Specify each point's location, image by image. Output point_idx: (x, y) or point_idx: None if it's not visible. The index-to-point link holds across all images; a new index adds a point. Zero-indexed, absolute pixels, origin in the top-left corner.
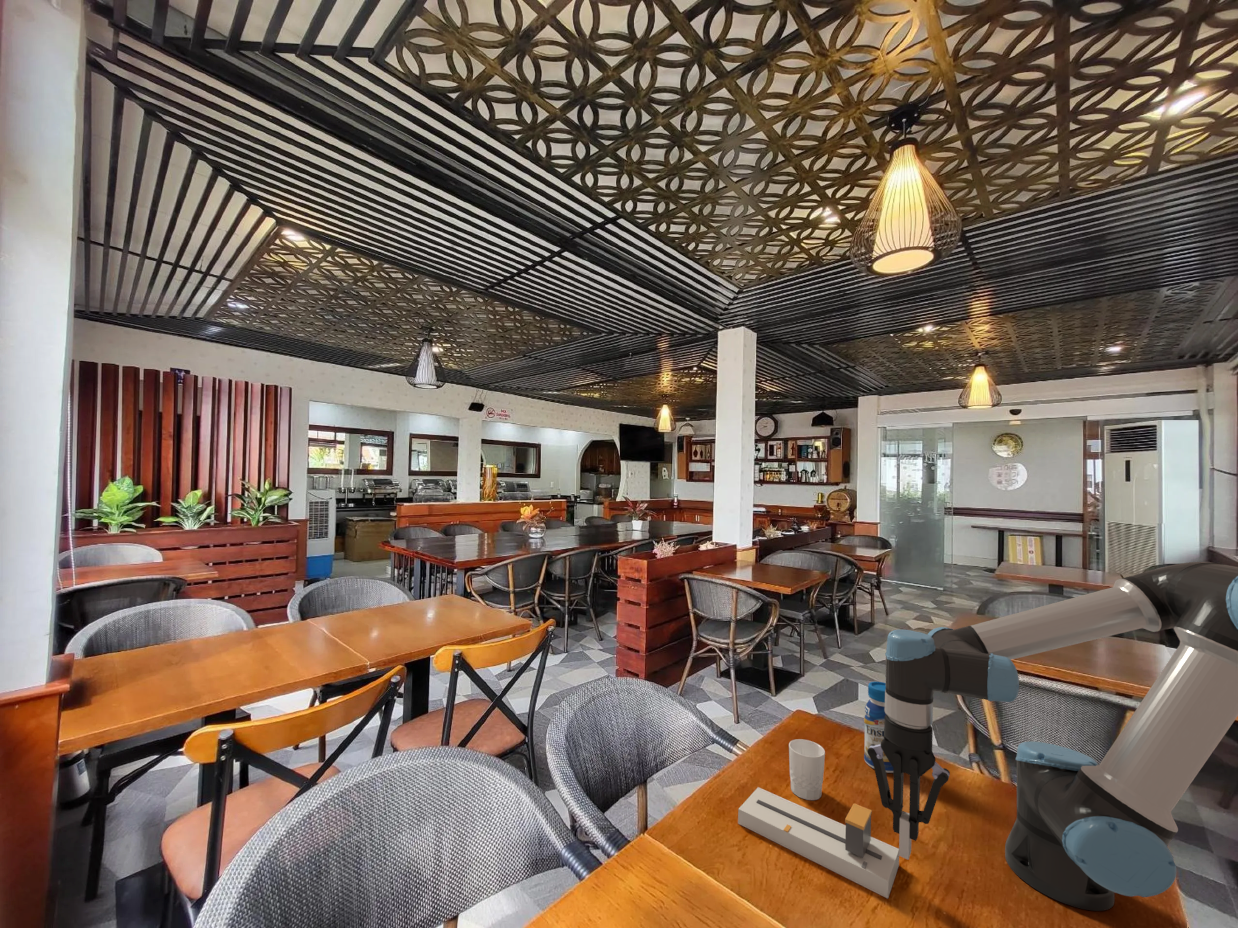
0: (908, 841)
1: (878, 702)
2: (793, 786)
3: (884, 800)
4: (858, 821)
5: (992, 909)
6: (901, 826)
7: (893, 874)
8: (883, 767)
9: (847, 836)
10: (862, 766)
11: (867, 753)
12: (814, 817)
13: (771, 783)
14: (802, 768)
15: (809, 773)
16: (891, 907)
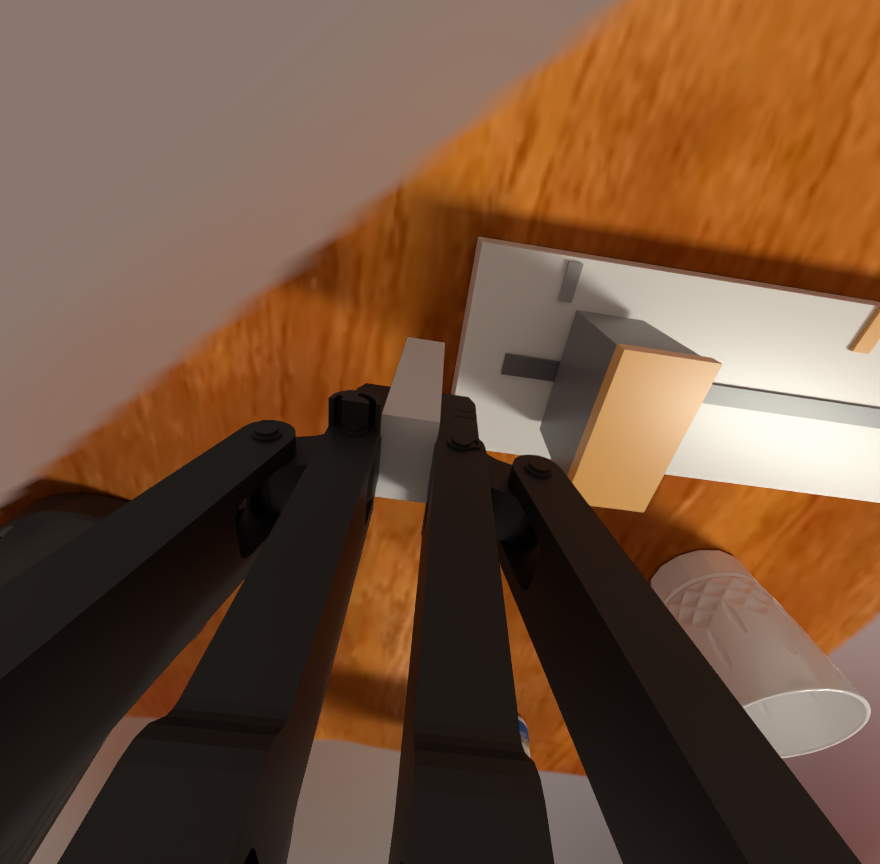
0: (399, 364)
1: None
2: (750, 574)
3: (550, 484)
4: (645, 383)
5: (207, 380)
6: (430, 397)
7: (462, 339)
8: (640, 826)
9: (662, 336)
10: (530, 706)
11: (524, 746)
12: (728, 452)
13: (801, 567)
14: (781, 634)
15: (746, 624)
16: (466, 194)
